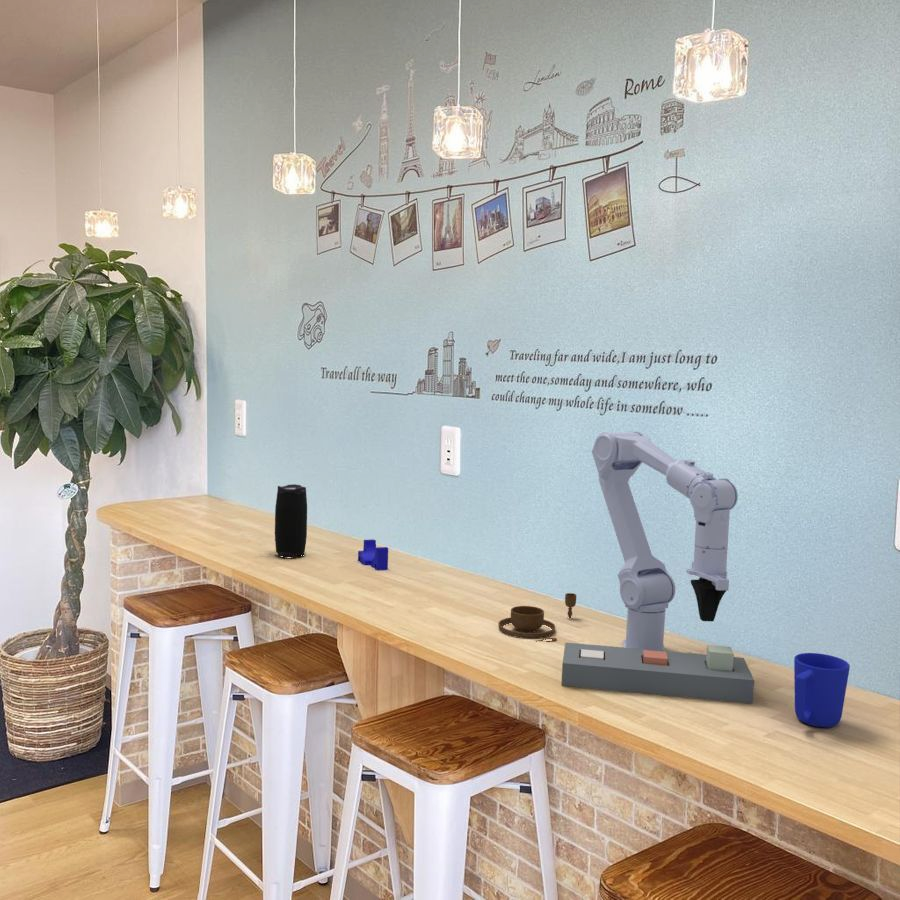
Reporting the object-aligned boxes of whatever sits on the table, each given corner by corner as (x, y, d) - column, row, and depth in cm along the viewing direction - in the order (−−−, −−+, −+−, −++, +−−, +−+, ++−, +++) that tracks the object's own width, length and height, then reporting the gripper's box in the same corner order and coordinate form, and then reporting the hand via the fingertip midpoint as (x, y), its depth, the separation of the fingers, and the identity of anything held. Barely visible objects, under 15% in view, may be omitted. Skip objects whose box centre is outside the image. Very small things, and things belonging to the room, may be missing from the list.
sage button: (705, 666, 161) (707, 644, 161) (729, 668, 160) (730, 646, 160) (708, 674, 157) (709, 651, 157) (732, 676, 156) (733, 653, 156)
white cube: (580, 670, 165) (581, 649, 164) (602, 672, 164) (603, 651, 164) (579, 678, 161) (580, 656, 161) (602, 680, 160) (603, 658, 160)
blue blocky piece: (357, 561, 249) (358, 540, 248) (373, 560, 251) (374, 539, 250) (371, 571, 238) (372, 548, 237) (387, 570, 240) (388, 548, 239)
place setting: (486, 621, 197) (487, 595, 196) (572, 617, 202) (573, 592, 202) (512, 647, 180) (514, 618, 179) (605, 642, 185) (606, 614, 185)
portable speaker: (271, 558, 248) (272, 487, 246) (279, 551, 257) (280, 483, 255) (302, 560, 247) (303, 489, 245) (309, 552, 257) (310, 484, 255)
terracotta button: (642, 671, 163) (643, 649, 163) (664, 673, 162) (666, 651, 162) (642, 679, 159) (644, 656, 159) (666, 681, 158) (667, 659, 158)
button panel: (564, 663, 169) (565, 642, 169) (742, 679, 164) (743, 657, 164) (561, 685, 158) (562, 663, 157) (752, 703, 152) (754, 680, 152)
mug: (769, 726, 143) (774, 664, 142) (803, 707, 151) (807, 649, 150) (821, 743, 137) (826, 678, 136) (853, 722, 145) (858, 662, 144)
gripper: (677, 538, 170) (673, 609, 171) (701, 553, 155) (697, 631, 157) (714, 539, 170) (710, 609, 171) (742, 554, 156) (737, 632, 157)
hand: (706, 620), depth 164 cm, fingers closed
